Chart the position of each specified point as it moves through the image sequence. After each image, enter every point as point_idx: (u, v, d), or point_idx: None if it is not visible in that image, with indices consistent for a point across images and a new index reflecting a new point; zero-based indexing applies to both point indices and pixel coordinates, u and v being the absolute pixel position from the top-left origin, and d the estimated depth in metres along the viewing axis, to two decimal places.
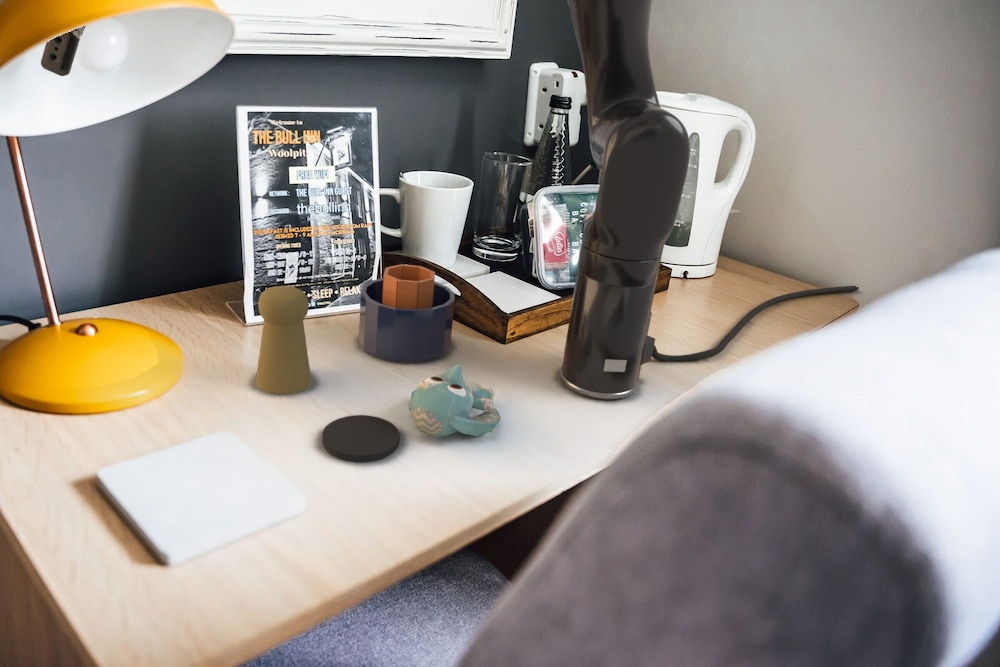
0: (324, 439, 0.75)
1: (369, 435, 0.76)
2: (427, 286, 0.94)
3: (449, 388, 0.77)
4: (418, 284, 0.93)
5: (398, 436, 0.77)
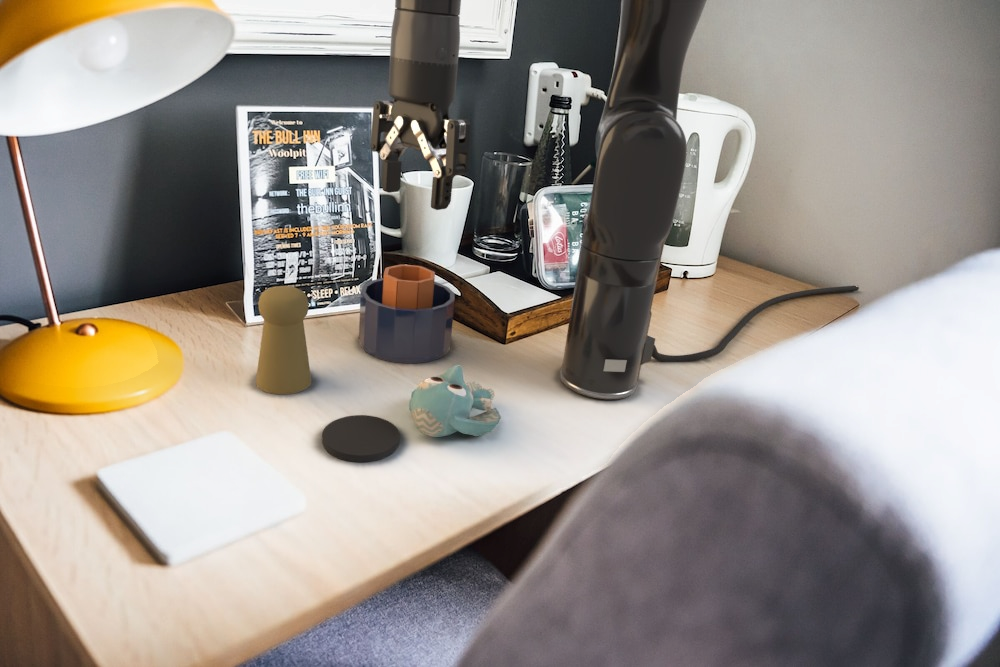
0: (324, 439, 0.75)
1: (369, 435, 0.76)
2: (427, 286, 0.94)
3: (449, 388, 0.77)
4: (418, 284, 0.93)
5: (398, 436, 0.77)
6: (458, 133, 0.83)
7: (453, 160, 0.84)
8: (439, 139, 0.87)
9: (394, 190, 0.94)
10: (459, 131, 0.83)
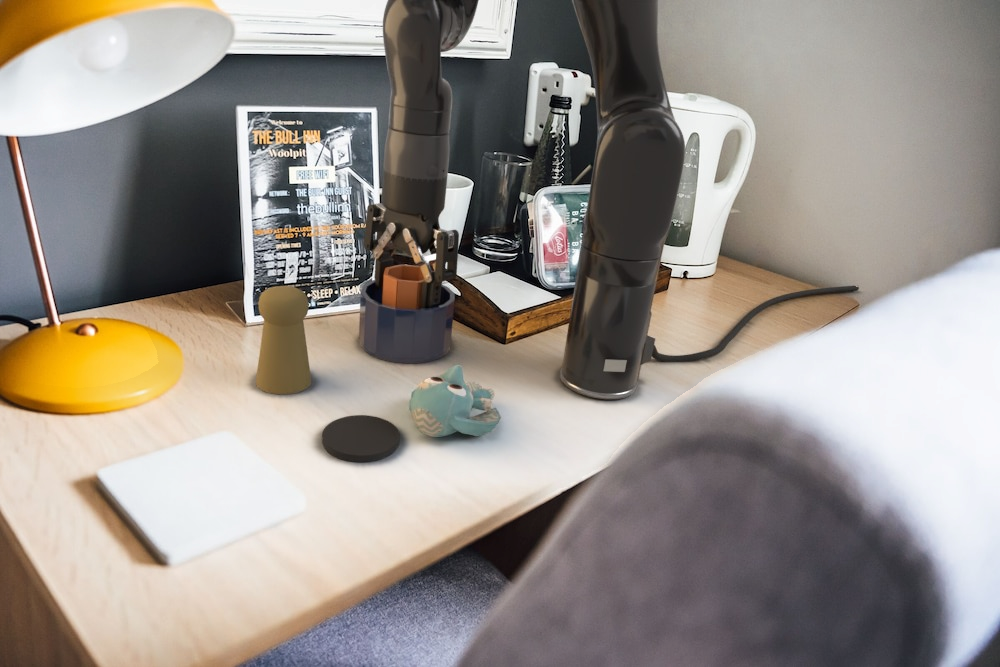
0: (324, 439, 0.75)
1: (369, 435, 0.76)
2: None
3: (449, 388, 0.77)
4: (418, 284, 0.93)
5: (398, 436, 0.77)
6: (447, 244, 0.88)
7: (442, 269, 0.89)
8: (429, 245, 0.92)
9: None
10: (448, 242, 0.88)
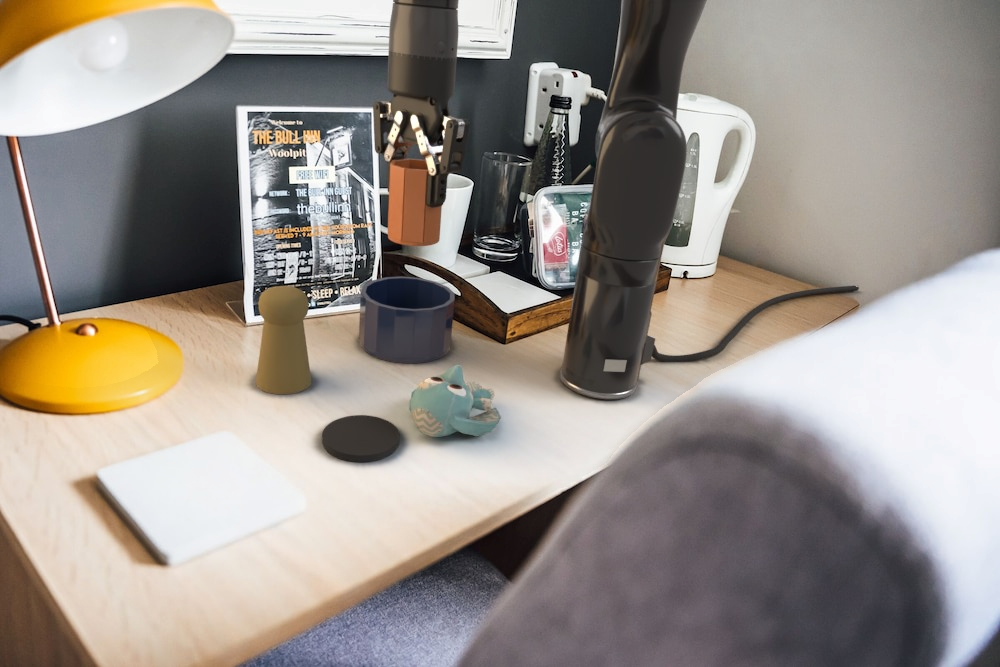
0: (324, 439, 0.75)
1: (369, 435, 0.76)
2: None
3: (449, 388, 0.77)
4: (426, 173, 0.88)
5: (398, 436, 0.77)
6: (456, 133, 0.83)
7: (448, 159, 0.84)
8: (437, 136, 0.87)
9: None
10: (457, 131, 0.83)
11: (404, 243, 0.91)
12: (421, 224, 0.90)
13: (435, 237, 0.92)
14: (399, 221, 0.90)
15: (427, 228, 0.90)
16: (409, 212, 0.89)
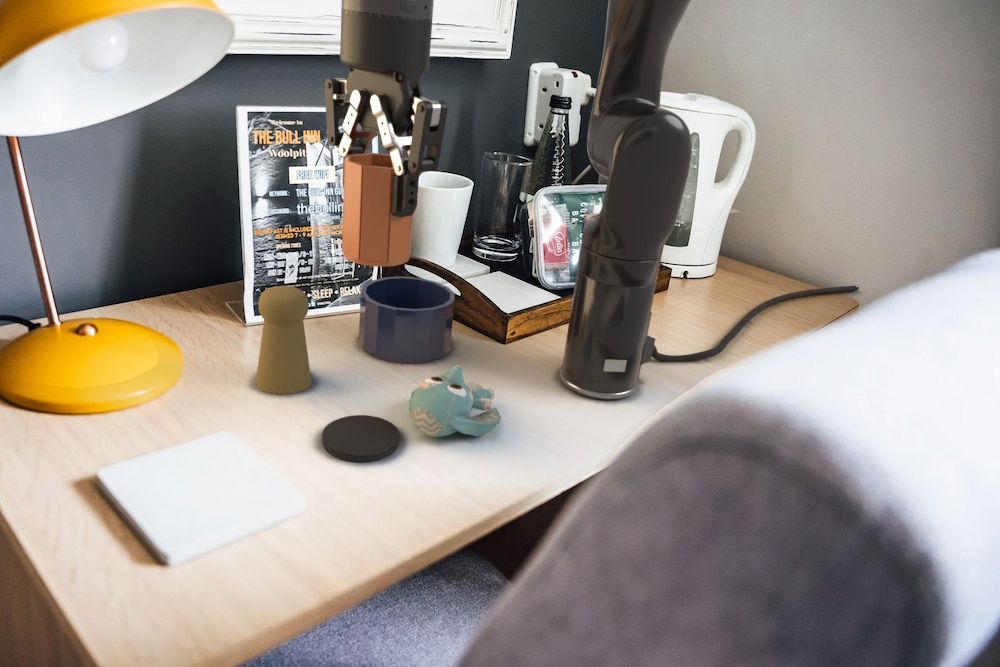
0: (324, 439, 0.75)
1: (369, 435, 0.76)
2: None
3: (449, 388, 0.77)
4: (391, 172, 0.67)
5: (398, 436, 0.77)
6: (430, 119, 0.63)
7: (419, 154, 0.64)
8: None
9: None
10: (431, 117, 0.63)
11: (362, 262, 0.70)
12: (384, 238, 0.69)
13: (403, 255, 0.71)
14: (356, 234, 0.69)
15: (392, 243, 0.69)
16: (369, 223, 0.68)
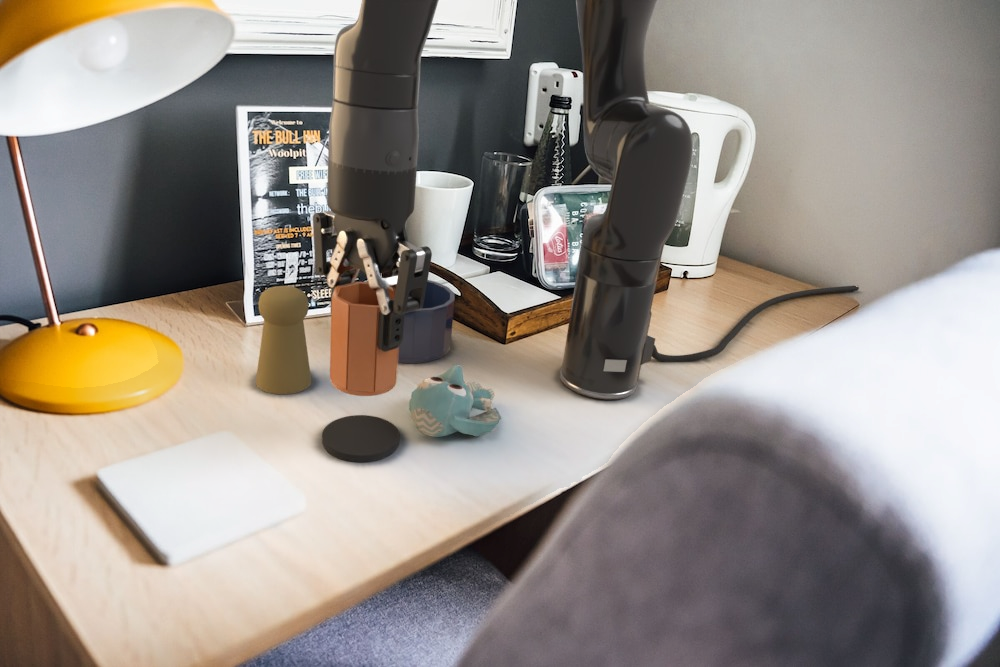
0: (324, 439, 0.75)
1: (369, 435, 0.76)
2: None
3: (449, 388, 0.77)
4: (377, 310, 0.68)
5: (398, 436, 0.77)
6: (414, 267, 0.64)
7: (404, 299, 0.65)
8: None
9: None
10: (416, 264, 0.64)
11: (350, 392, 0.71)
12: (371, 370, 0.70)
13: (390, 383, 0.72)
14: (343, 366, 0.70)
15: (379, 374, 0.71)
16: (356, 357, 0.70)
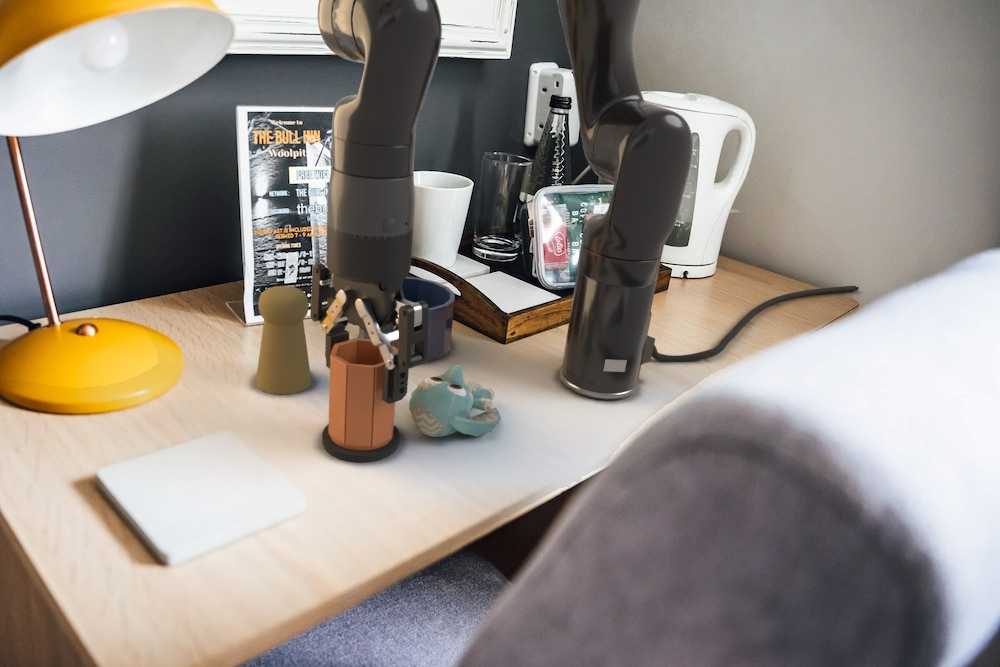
0: (324, 439, 0.75)
1: None
2: None
3: (449, 388, 0.77)
4: (374, 370, 0.71)
5: (398, 436, 0.77)
6: (413, 321, 0.66)
7: (407, 354, 0.67)
8: (391, 319, 0.70)
9: None
10: (414, 318, 0.66)
11: (348, 447, 0.74)
12: (368, 426, 0.73)
13: (387, 437, 0.75)
14: (341, 422, 0.73)
15: (376, 430, 0.73)
16: (353, 414, 0.72)
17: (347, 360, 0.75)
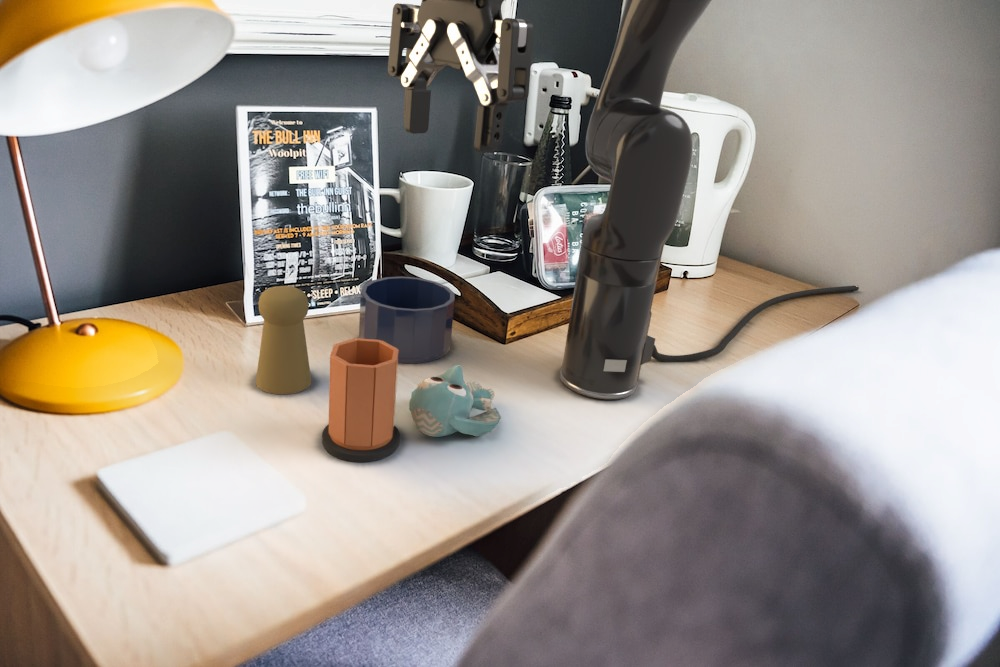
0: (324, 439, 0.75)
1: None
2: (387, 370, 0.72)
3: (449, 388, 0.77)
4: (374, 370, 0.71)
5: (398, 436, 0.77)
6: (517, 37, 0.58)
7: (509, 78, 0.59)
8: (487, 52, 0.62)
9: (420, 131, 0.68)
10: (518, 35, 0.58)
11: (348, 447, 0.74)
12: (368, 426, 0.73)
13: (387, 437, 0.75)
14: (341, 422, 0.73)
15: (376, 430, 0.73)
16: (353, 414, 0.72)
17: (347, 360, 0.75)
